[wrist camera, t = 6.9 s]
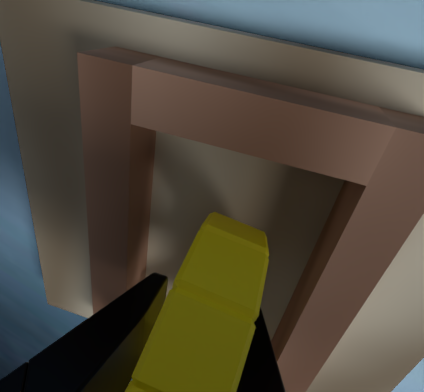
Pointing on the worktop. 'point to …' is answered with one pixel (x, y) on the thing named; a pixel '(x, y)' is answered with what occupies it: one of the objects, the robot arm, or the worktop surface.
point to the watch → (207, 313)
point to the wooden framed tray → (226, 174)
